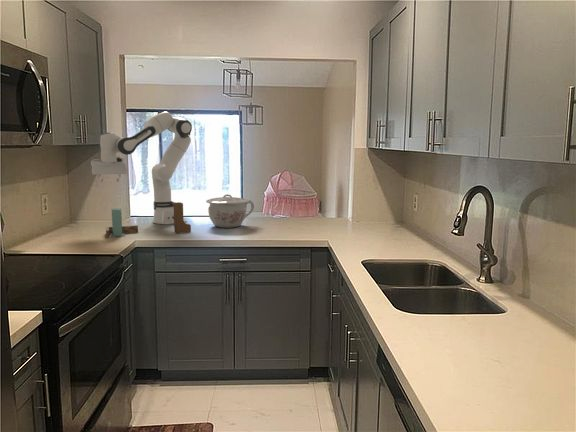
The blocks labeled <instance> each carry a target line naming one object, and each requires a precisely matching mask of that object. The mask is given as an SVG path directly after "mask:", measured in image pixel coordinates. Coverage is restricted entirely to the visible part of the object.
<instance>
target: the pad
mask: <svg viewBox="0 0 576 432" xmlns="http://www.w3.org/2000/svg"><path fill="white" fill-rule="evenodd" d="M109 236H110V238H116V237H117V238H118V237H120V238H121V237H126V233H122V235H121V236H113V234H109Z"/></svg>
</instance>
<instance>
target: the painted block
mask: <svg viewBox="0 0 576 432" xmlns="http://www.w3.org/2000/svg"><path fill="white" fill-rule="evenodd" d="M122 219H123V218H122V209H121V208H111V227H112V229H113V236H121V235H122V226H123V222H122V221H123V220H122ZM121 237H122V236H121Z"/></svg>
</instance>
